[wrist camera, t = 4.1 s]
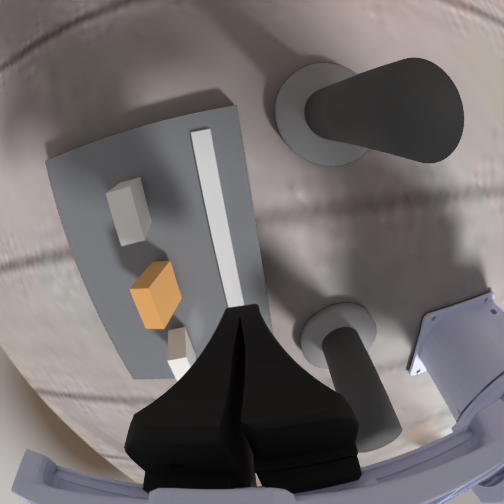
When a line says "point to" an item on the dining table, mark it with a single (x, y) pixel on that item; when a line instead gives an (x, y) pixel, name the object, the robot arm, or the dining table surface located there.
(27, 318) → the dining table surface
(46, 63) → the dining table surface
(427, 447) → the robot arm
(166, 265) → the block
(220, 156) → the breaker panel
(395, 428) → the rubber post
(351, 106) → the rubber post
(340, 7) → the dining table surface
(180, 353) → the block
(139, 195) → the block
